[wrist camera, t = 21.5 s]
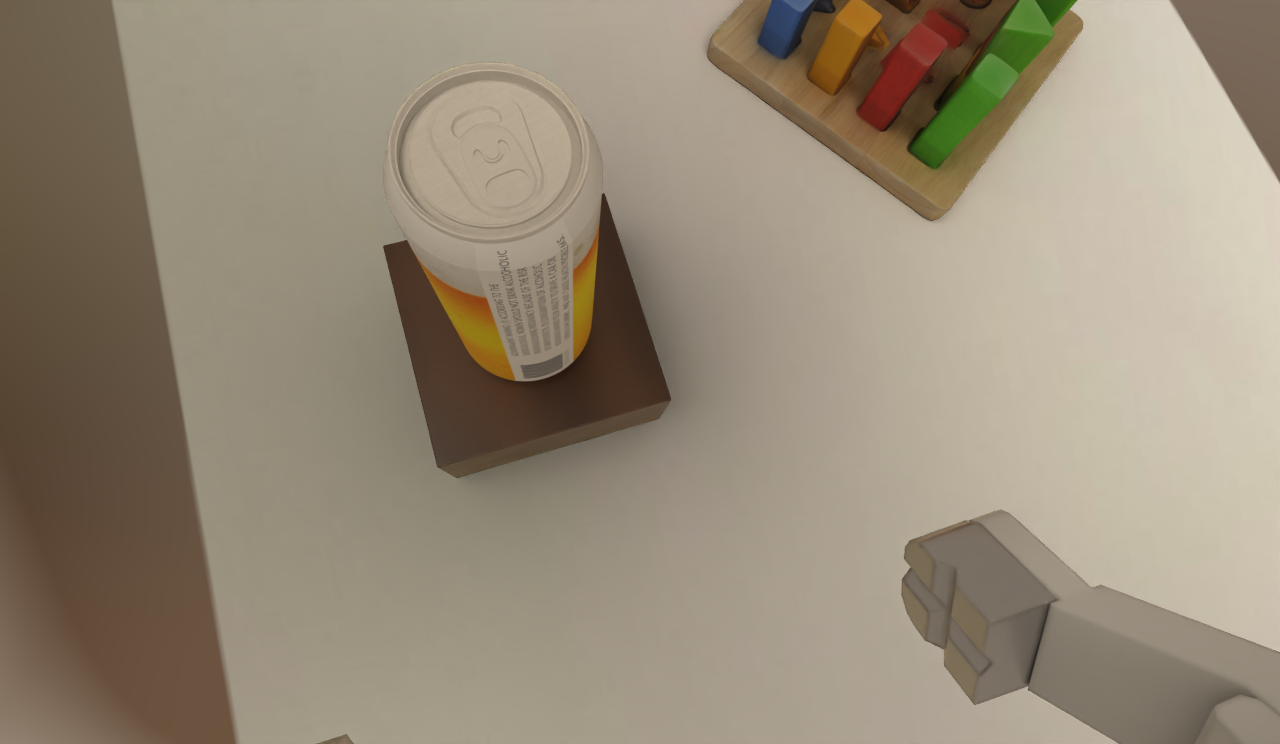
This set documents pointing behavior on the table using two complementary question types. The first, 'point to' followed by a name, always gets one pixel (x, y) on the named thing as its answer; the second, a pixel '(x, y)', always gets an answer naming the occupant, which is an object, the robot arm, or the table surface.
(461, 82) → the orange beverage can
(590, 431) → the walnut block
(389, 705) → the table surface
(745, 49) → the peg board
